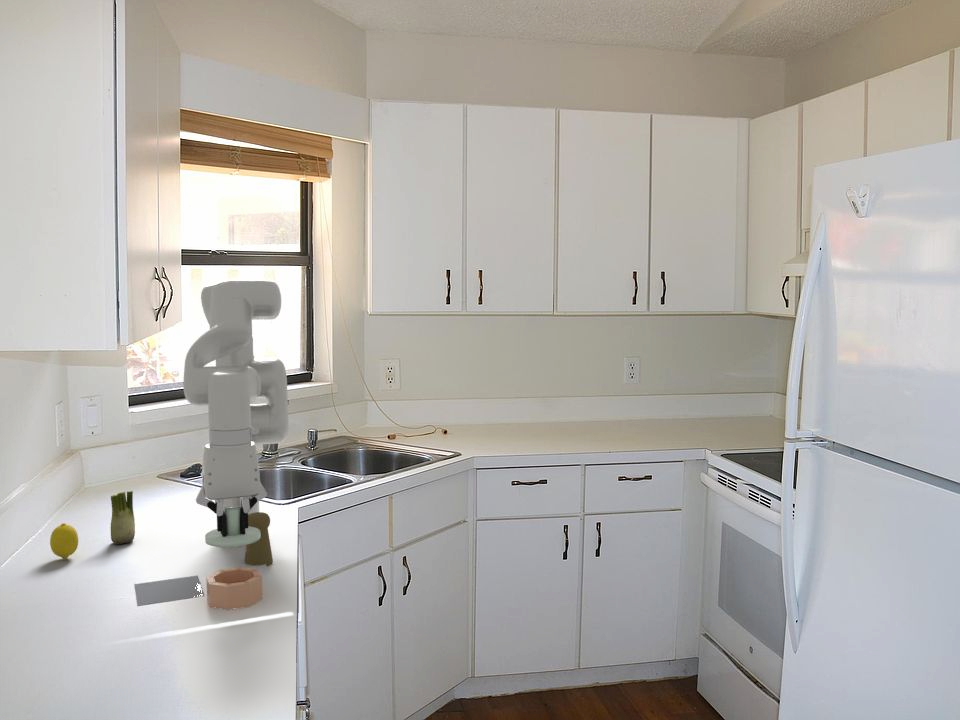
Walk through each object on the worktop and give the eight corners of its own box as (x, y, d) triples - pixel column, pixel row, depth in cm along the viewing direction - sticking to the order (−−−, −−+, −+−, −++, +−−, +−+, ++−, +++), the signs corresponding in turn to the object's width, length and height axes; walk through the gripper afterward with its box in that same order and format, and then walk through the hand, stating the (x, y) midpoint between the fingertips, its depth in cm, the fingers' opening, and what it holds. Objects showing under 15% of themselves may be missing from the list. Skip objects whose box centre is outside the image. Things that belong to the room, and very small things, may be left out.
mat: (134, 587, 168) (134, 584, 168) (197, 578, 173) (197, 575, 173) (137, 608, 157) (137, 605, 157) (204, 598, 162) (204, 595, 162)
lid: (202, 534, 161) (201, 504, 161) (255, 528, 166) (254, 498, 165) (209, 550, 152) (208, 517, 152) (265, 542, 157) (264, 511, 156)
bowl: (205, 597, 163) (204, 571, 162) (256, 589, 167) (255, 564, 166) (211, 615, 154) (211, 588, 154) (265, 606, 158) (264, 581, 158)
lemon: (71, 553, 188) (70, 518, 187) (83, 558, 185) (82, 522, 184) (46, 559, 184) (44, 523, 183) (58, 565, 180) (56, 528, 180)
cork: (244, 569, 178) (242, 518, 177) (244, 559, 184) (242, 510, 183) (273, 566, 180) (272, 516, 179) (272, 557, 186) (271, 508, 185)
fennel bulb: (133, 537, 199) (131, 488, 198) (139, 543, 195) (137, 492, 194) (107, 542, 196) (105, 491, 195) (112, 547, 192) (110, 496, 191)
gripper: (270, 430, 164) (272, 523, 166) (182, 437, 157) (185, 533, 159) (278, 437, 157) (280, 533, 159) (186, 444, 150) (189, 544, 152)
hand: (232, 532), depth 159 cm, fingers closed on lid, 2 cm apart
